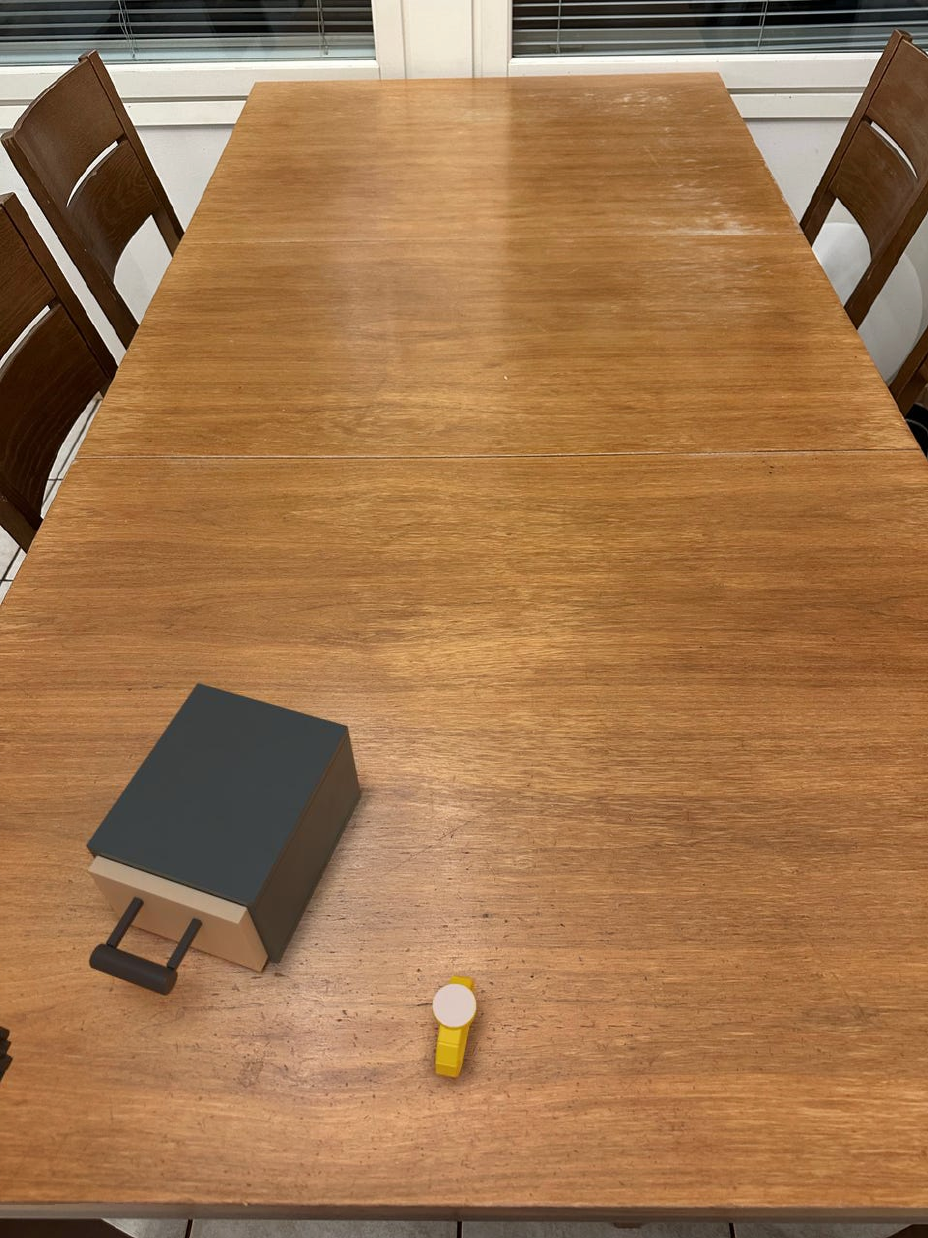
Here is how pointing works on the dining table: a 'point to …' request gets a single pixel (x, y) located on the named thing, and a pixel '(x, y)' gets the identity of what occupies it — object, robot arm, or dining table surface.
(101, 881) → the drawer
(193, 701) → the cabinet
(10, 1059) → the robot arm
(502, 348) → the dining table surface
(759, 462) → the dining table surface
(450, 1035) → the watch
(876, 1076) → the dining table surface
